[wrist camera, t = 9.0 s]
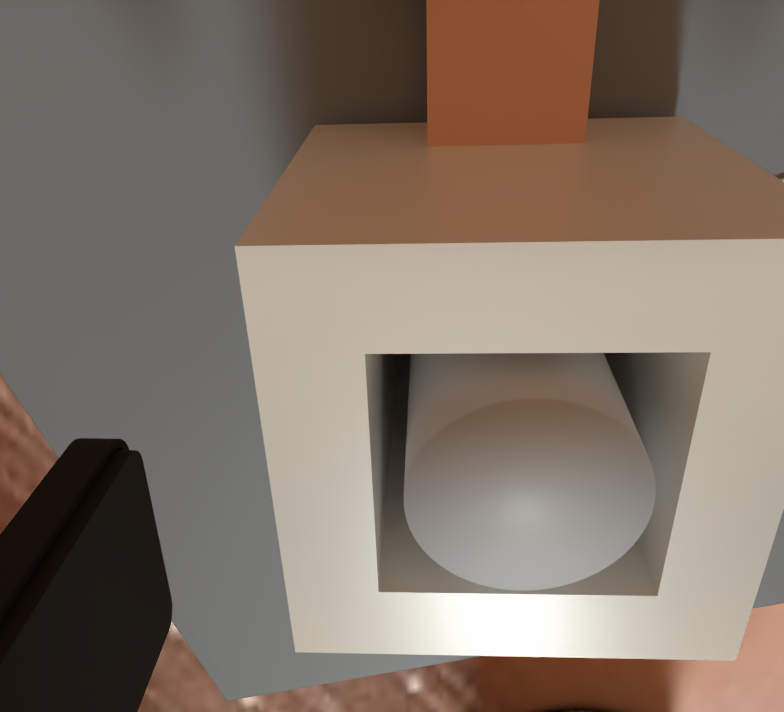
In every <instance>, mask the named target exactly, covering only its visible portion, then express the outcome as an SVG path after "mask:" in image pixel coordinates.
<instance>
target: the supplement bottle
mask: <svg viewBox="0 0 784 712" xmlns="http://www.w3.org/2000/svg"><path fill="white" fill-rule="evenodd" d="M560 712H595V711H577V710H574V711H560Z"/></svg>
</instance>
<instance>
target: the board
mask: <svg viewBox="0 0 784 712" xmlns="http://www.w3.org/2000/svg"><path fill="white" fill-rule="evenodd" d="M682 116H683V117H684V118H686V119H687V120H689V121H690V122H692V123H693V124H695V125H696V126H698V127H700V128H701V129H703V130H704V131H706V132H707V133H709V134H710V135H712V136H713V137H715V138H717V139H718V140H720V141H721V142H723V143H724V144H726V145H727V146H729V147H730V148H732V149H734V150H735V151H737V152H738V153H740V154H741V155H743V156H744V157H746V158H747V159H749V160H751V161H752V162H754V163H755V164H757V165H758V166H760V167H761V168H763V169H765V170H766V171H768V172H769V173H771V174H772V175H774V176H775V177H777V178H778V179H780V180H782V181H783V182H784V0H600V1H599V11H598V21H597V31H596V41H595V50H594V60H593V70H592V80H591V90H590V100H589V110H588V119H595V118H638V117H682ZM421 122H427V2H426V0H0V375H1V376H2V378H3V379H4V380H5V382H6V383H7V385H8V386H9V388H10V389H11V391H12V392H13V393H14V395H15V396H16V398H17V399H18V401H19V402H20V403H21V405H22V406H23V408H24V409H25V411H26V412H27V414H28V415H29V416H30V418H31V419H32V421H33V422H34V424H35V425H36V427H37V428H38V429H39V431H40V432H41V434H42V435H43V437H44V438H45V439H46V441H47V442H48V444H49V445H50V447H51V448H52V450H53V451H54V452H55V454H56V455H57V457H58V458H60V456H61V455H62V454H63V452H64V451H65V450H66V448H67V447H68V446H69V444H70V443H71V442H73V441H74V440H75V439H78V438H103V439H122V440H124V441H125V442H126V444H127V445H128V447H129V450H136V451H139V453H140V454H141V456H142V459H143V463H144V468H145V473H146V478H147V483H148V487H149V492H150V497H151V502H152V507H153V511H154V516H155V521H156V526H157V531H158V535H159V540H160V545H161V550H162V554H163V559H164V564H165V569H166V574H167V578H168V583H169V588H170V593H171V598H172V620H171V621H172V622H173V624H174V625H175V626H176V628H177V629H178V631H179V632H180V634H181V635H182V637H183V638H184V639H185V641H186V642H187V644H188V645H189V647H190V648H191V650H192V651H193V652H194V654H195V655H196V657H197V658H198V660H199V661H200V662H201V664H202V665H203V667H204V668H205V670H206V671H207V673H208V674H209V675H210V677H211V678H212V680H213V681H214V683H215V684H216V685H217V687H218V688H219V690H220V691H221V693H222V694H223V696H224V697H225V698H226V700H227V701H230V700H235V699H241V698H247V697H252V696H258V695H264V694H269V693H275V692H281V691H287V690H292V689H298V688H304V687H309V686H315V685H321V684H326V683H332V682H338V681H343V680H349V679H355V678H360V677H366V676H372V675H377V674H383V673H389V672H395V671H400V670H406V669H412V668H417V667H423V666H429V665H434V664H440V663H446V662H451V661H457V660H463V659H468V658H474V657H480V656H462V655H409V654H357V653H305V652H295V647H294V641H293V634H292V627H291V621H290V614H289V607H288V600H287V594H286V587H285V580H284V574H283V567H282V560H281V554H280V547H279V540H278V534H277V527H276V520H275V514H274V507H273V500H272V493H271V487H270V480H269V473H268V467H267V460H266V453H265V447H264V440H263V433H262V427H261V420H260V413H259V407H258V400H257V393H256V386H255V380H254V373H253V366H252V360H251V353H250V346H249V340H248V333H247V326H246V320H245V313H244V306H243V300H242V293H241V286H240V280H239V273H238V266H237V259H236V253H235V245H236V243H237V242H238V240H239V239H240V237H241V236H242V234H243V233H244V231H245V230H246V228H247V227H248V225H249V224H250V222H251V221H252V219H253V218H254V216H255V215H256V213H257V212H258V210H259V209H260V207H261V206H262V204H263V203H264V201H265V200H266V198H267V197H268V195H269V194H270V192H271V191H272V189H273V188H274V186H275V185H276V183H277V182H278V180H279V179H280V177H281V176H282V174H283V173H284V171H285V170H286V168H287V167H288V165H289V164H290V162H291V161H292V159H293V158H294V156H295V155H296V153H297V152H298V150H299V149H300V147H301V146H302V144H303V143H304V141H305V140H306V138H307V137H308V135H309V134H310V132H311V131H312V129H313V128H314V126H315V125H334V124H378V123H421ZM396 371H410V376H409V396H408V417H407V438H406V458H405V479H404V510H405V516H406V520H407V523H408V526H409V529H410V531H411V532H412V534H413V536H414V538H415V540H416V541H417V543H418V544H419V545H420V547H421V548H422V549H423V551H424V552H425V553H426V554H427V555H428V556H429V557H430V558H431V559H432V560H434V561H435V562H436V563H437V564H439V565H440V566H441V567H443V568H444V569H446V570H448V571H449V572H451V573H453V574H454V575H457V576H459V577H461V578H463V579H465V580H468V581H471V582H474V583H476V584H479V585H483V586H488V587H492V588H498V589H505V590H522V591H526V590H541V589H548V588H555V587H559V586H563V585H567V584H571V583H574V582H577V581H580V580H582V579H585V578H587V577H589V576H591V575H594V574H596V573H598V572H600V571H601V570H603V569H605V568H606V567H608V566H610V565H611V564H612V563H614V562H615V561H616V560H618V559H619V558H621V557H622V556H623V555H624V554H625V553H626V552H627V551H628V550H629V549H630V548H631V547H632V546H633V545H634V544H635V542H636V541H637V540H638V539H639V537H640V536H641V534H642V533H643V531H644V530H645V528H646V526H647V524H648V522H649V520H650V517H651V515H652V512H653V508H654V504H655V498H656V481H655V474H654V470H653V467H652V464H651V461H650V459H649V456H648V454H647V452H646V449H645V447H644V445H643V443H642V440H641V438H640V436H639V433H638V431H637V429H636V426H635V424H634V422H633V419H632V417H631V415H630V413H629V410H628V408H627V406H626V403H625V401H624V399H623V396H622V394H621V392H620V390H619V387H618V385H617V383H616V380H615V378H614V376H613V373H612V371H611V369H610V367H609V364H608V362H607V360H606V357H605V355H604V353H455V354H396ZM781 603H784V510H783V513H782V516H781V519H780V522H779V526H778V529H777V532H776V535H775V538H774V541H773V545H772V548H771V551H770V554H769V557H768V560H767V564H766V567H765V570H764V573H763V576H762V579H761V583H760V586H759V589H758V592H757V595H756V598H755V601H754V605H753V608H758V607H764V606H770V605H775V604H781ZM753 608H752V609H753Z"/></svg>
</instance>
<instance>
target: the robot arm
mask: <svg viewBox="0 0 784 712" xmlns="http://www.w3.org/2000/svg"><path fill="white" fill-rule="evenodd" d="M171 620H172V598H171V593H170V588H169V583H168V578H167V574H166V569H165V564H164V559H163V554H162V550H161V545H160V540H159V535H158V531H157V526H156V521H155V516H154V511H153V507H152V502H151V497H150V492H149V487H148V483H147V478H146V473H145V468H144V463H143V459H142V456H141V454H140V453H139V451H136V450H129V447H128V445H127V444H126V442H125V441H124V440H122V439H103V438H78V439H75V440H74V441H73V442H71V443H70V444H69V446H68V447H67V448H66V450H65V451H64V452H63V454H62V455H61V456H60V458H59V459H58V460H57V461H56V463H55V464H54V465H53V467H52V468H51V469H50V471H49V472H48V473H47V475H46V476H45V477H44V479H43V480H42V481H41V482H40V484H39V485H38V486H37V488H36V489H35V490H34V492H33V493H32V494H31V496H30V497H29V498H28V499H27V501H26V502H25V503H24V505H23V506H22V507H21V509H20V510H19V511H18V513H17V514H16V515H15V516H14V518H13V519H12V520H11V522H10V523H9V524H8V526H7V527H6V528H5V530H4V531H3V532H2V534H1V535H0V712H137V711H138V709H139V706H140V703H141V701H142V698H143V696H144V693H145V691H146V688H147V685H148V683H149V680H150V678H151V675H152V673H153V670H154V667H155V665H156V662H157V660H158V657H159V655H160V652H161V649H162V647H163V644H164V642H165V639H166V637H167V634H168V631H169V628H170V625H171Z"/></svg>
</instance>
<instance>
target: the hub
mask: <svg viewBox="0 0 784 712" xmlns="http://www.w3.org/2000/svg"><path fill="white" fill-rule="evenodd" d="M599 1H600V0H426V2H427V122H421V123H378V124H334V125H315V126H314V128H313V129H312V131H311V132H310V134H309V135H308V137H307V138H306V140H305V141H304V143H303V144H302V146H301V147H300V149H299V150H298V152H297V153H296V155H295V156H294V158H293V159H292V161H291V162H290V164H289V165H288V167H287V168H286V170H285V171H284V173H283V174H282V176H281V177H280V179H279V180H278V182H277V183H276V185H275V186H274V188H273V189H272V191H271V192H270V194H269V195H268V197H267V198H266V200H265V201H264V203H263V204H262V206H261V207H260V209H259V210H258V212H257V213H256V215H255V216H254V218H253V219H252V221H251V222H250V224H249V225H248V227H247V228H246V230H245V231H244V233H243V234H242V236H241V237H240V239H239V240H238V242H237V243H236V245H235V253H236V259H237V266H238V273H239V280H240V286H241V293H242V300H243V306H244V313H245V320H246V326H247V333H248V340H249V346H250V353H251V360H252V366H253V373H254V380H255V386H256V393H257V400H258V407H259V413H260V420H261V427H262V433H263V440H264V447H265V453H266V460H267V467H268V473H269V480H270V487H271V493H272V500H273V507H274V514H275V520H276V527H277V534H278V540H279V547H280V554H281V560H282V567H283V574H284V580H285V587H286V594H287V600H288V607H289V614H290V621H291V627H292V634H293V641H294V647H295V652H305V653H357V654H409V655H462V656H514V657H566V658H618V659H671V660H723V661H736V658H737V655H738V652H739V649H740V646H741V643H742V639H743V636H744V633H745V630H746V627H747V624H748V620H749V617H750V614H751V611H752V608H753V605H754V601H755V598H756V595H757V592H758V589H759V586H760V583H761V579H762V576H763V573H764V570H765V567H766V564H767V560H768V557H769V554H770V551H771V548H772V545H773V541H774V538H775V535H776V532H777V529H778V526H779V522H780V519H781V516H782V513H783V510H784V182H783V181H782V180H780V179H778V178H777V177H775V176H774V175H772V174H771V173H769V172H768V171H766V170H765V169H763V168H761V167H760V166H758V165H757V164H755V163H754V162H752V161H751V160H749V159H747V158H746V157H744V156H743V155H741V154H740V153H738V152H737V151H735V150H734V149H732V148H730V147H729V146H727V145H726V144H724V143H723V142H721V141H720V140H718V139H717V138H715V137H713V136H712V135H710V134H709V133H707V132H706V131H704V130H703V129H701V128H700V127H698V126H696V125H695V124H693V123H692V122H690V121H689V120H687V119H686V118H684V117H683V116H682V117H638V118H595V119H588V110H589V100H590V90H591V80H592V70H593V60H594V50H595V41H596V31H597V21H598V11H599ZM455 353H604V355H605V357H606V360H607V362H608V364H609V367H610V369H611V371H612V373H613V376H614V378H615V380H616V383H617V385H618V387H619V390H620V392H621V394H622V396H623V399H624V401H625V403H626V406H627V408H628V410H629V413H630V415H631V417H632V419H633V422H634V424H635V426H636V429H637V431H638V433H639V436H640V438H641V440H642V443H643V445H644V447H645V449H646V452H647V454H648V456H649V459H650V461H651V464H652V467H653V470H654V474H655V481H656V498H655V504H654V508H653V512H652V515H651V517H650V520H649V522H648V524H647V526H646V528H645V530H644V531H643V533H642V534H641V536H640V537H639V539H638V540H637V541H636V542H635V544H634V545H633V546H632V547H631V548H630V549H629V550H628V551H627V552H626V553H625V554H624V555H623V556H622V557H621V558H619V559H618V560H616V561H615V562H614V563H612V564H611V565H610V566H608V567H606V568H605V569H603V570H601V571H600V572H598V573H596V574H594V575H591V576H589V577H587V578H585V579H582V580H580V581H577V582H574V583H571V584H567V585H563V586H559V587H555V588H548V589H541V590H526V591H522V590H505V589H498V588H492V587H488V586H483V585H479V584H476V583H474V582H471V581H468V580H465V579H463V578H461V577H459V576H457V575H454V574H453V573H451V572H449V571H448V570H446V569H444V568H443V567H441V566H440V565H439V564H437V563H436V562H435V561H434V560H432V559H431V558H430V557H429V556H428V555H427V554H426V553H425V552H424V551H423V549H422V548H421V547H420V545H419V544H418V543H417V541H416V540H415V538H414V536H413V534H412V532H411V531H410V529H409V526H408V523H407V520H406V516H405V510H404V479H405V458H406V438H407V417H408V396H409V376H410V371H396V354H455Z"/></svg>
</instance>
